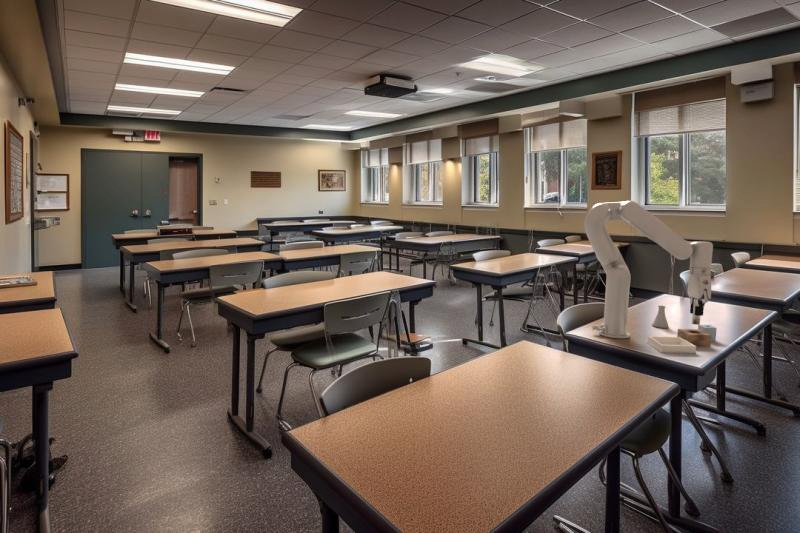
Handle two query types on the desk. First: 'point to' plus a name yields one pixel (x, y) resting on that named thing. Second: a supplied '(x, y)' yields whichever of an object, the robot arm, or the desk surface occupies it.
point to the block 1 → (695, 337)
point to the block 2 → (709, 330)
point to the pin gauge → (695, 318)
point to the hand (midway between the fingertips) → (696, 314)
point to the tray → (671, 345)
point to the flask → (660, 318)
